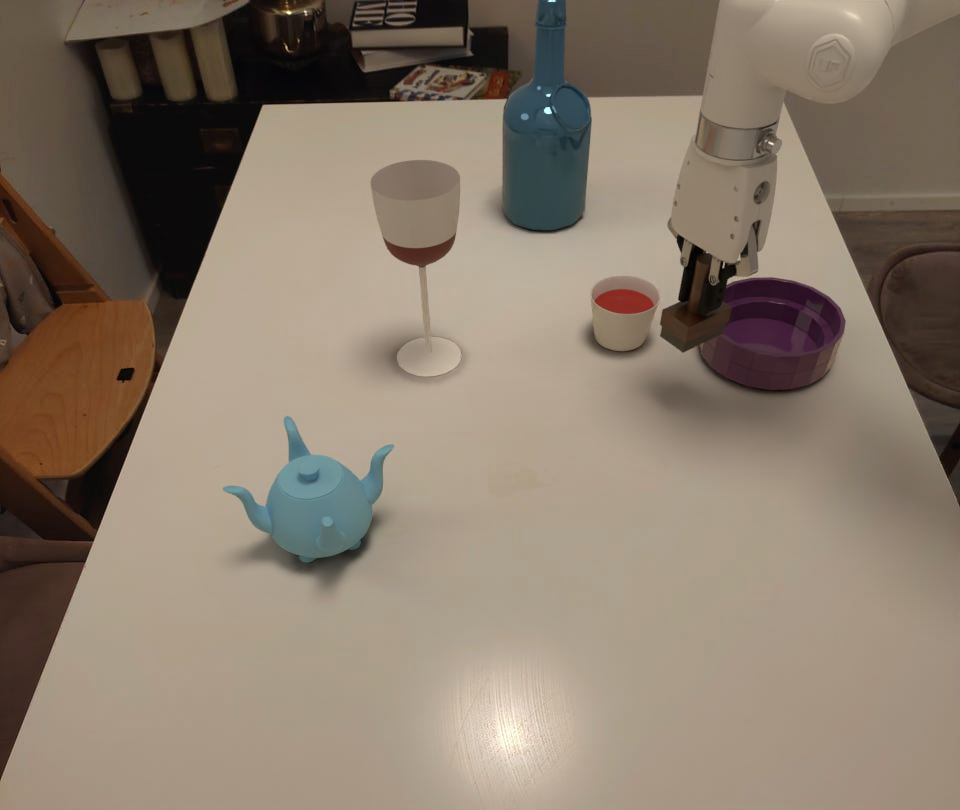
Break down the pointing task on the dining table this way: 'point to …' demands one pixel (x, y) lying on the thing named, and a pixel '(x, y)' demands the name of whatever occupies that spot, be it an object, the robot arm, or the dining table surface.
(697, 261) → the brush
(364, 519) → the teapot
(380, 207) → the wineglass
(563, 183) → the wine bottle
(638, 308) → the candle
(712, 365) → the bowl
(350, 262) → the dining table surface
